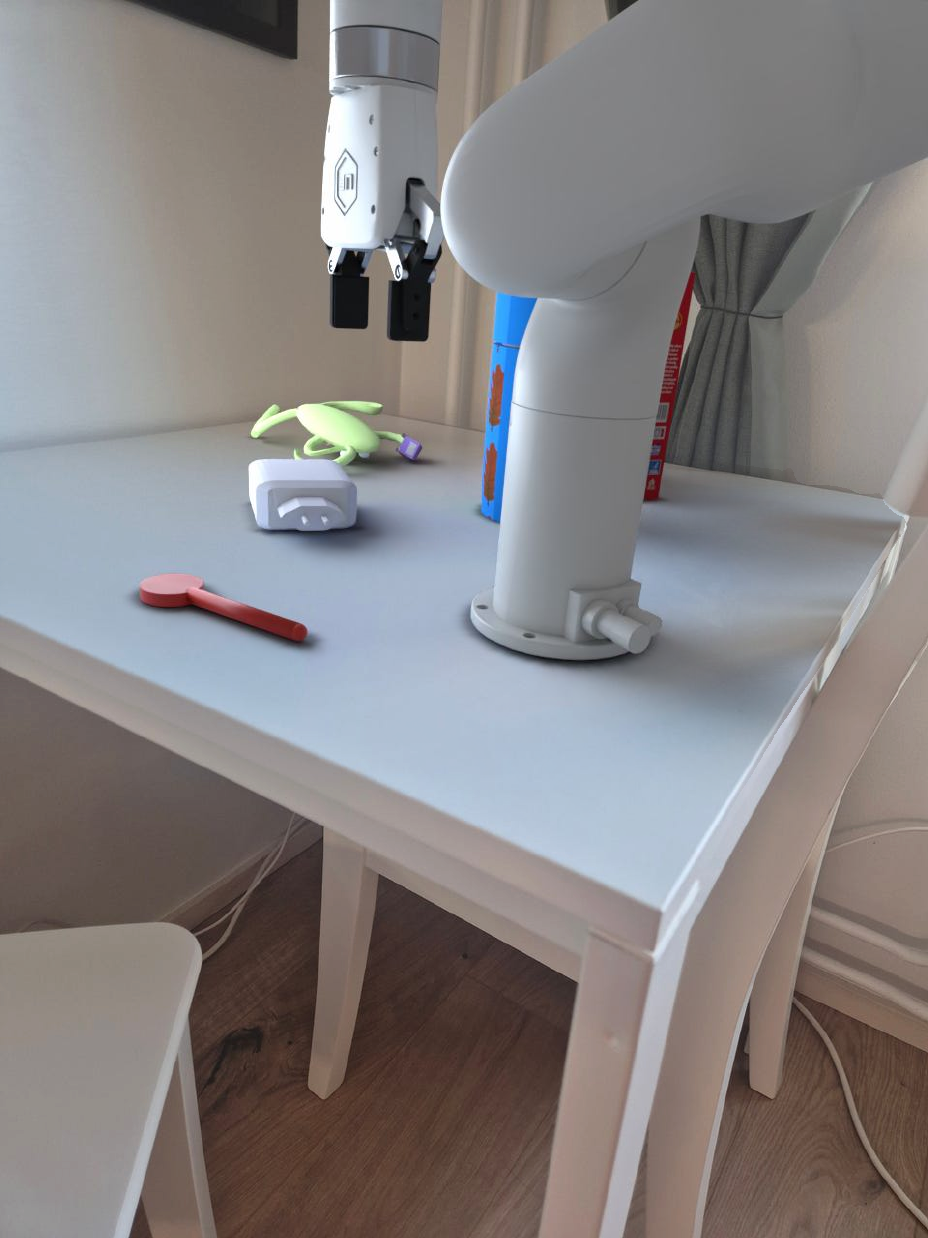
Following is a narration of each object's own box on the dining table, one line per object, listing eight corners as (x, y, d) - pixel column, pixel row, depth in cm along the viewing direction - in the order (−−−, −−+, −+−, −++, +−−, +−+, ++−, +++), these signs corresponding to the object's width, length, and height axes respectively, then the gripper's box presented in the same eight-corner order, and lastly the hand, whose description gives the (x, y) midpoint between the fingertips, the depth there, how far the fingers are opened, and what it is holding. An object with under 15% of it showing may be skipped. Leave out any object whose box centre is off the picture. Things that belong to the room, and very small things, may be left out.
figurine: (366, 430, 126) (367, 393, 124) (446, 470, 105) (449, 425, 103) (245, 433, 118) (243, 392, 116) (304, 476, 96) (304, 428, 94)
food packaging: (658, 498, 99) (695, 272, 90) (622, 501, 97) (657, 269, 87) (588, 470, 111) (615, 268, 102) (555, 471, 109) (579, 265, 99)
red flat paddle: (326, 632, 56) (327, 616, 56) (282, 654, 53) (281, 636, 52) (176, 581, 63) (175, 566, 63) (127, 596, 60) (125, 581, 59)
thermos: (576, 534, 83) (611, 261, 73) (471, 521, 84) (491, 253, 75) (583, 508, 93) (615, 264, 83) (489, 496, 94) (509, 256, 85)
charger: (263, 552, 71) (249, 505, 84) (369, 549, 74) (340, 504, 87) (261, 498, 69) (248, 458, 82) (370, 497, 72) (341, 459, 85)
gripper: (285, 80, 62) (287, 322, 69) (396, 40, 49) (386, 345, 56) (375, 97, 66) (369, 325, 73) (500, 65, 53) (479, 347, 59)
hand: (376, 333), depth 64 cm, fingers open, 9 cm apart
